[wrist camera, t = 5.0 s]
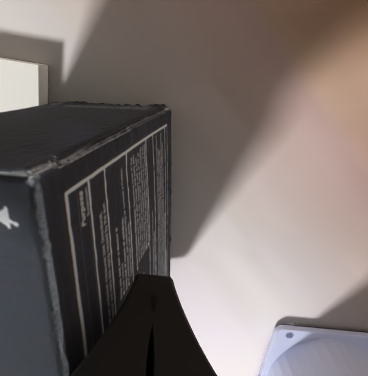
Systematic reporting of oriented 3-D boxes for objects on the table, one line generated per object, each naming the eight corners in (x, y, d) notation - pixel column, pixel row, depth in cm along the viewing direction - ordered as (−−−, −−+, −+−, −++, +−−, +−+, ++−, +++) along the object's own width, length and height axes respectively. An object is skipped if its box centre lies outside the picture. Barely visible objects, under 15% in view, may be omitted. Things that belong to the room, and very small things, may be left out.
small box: (44, 99, 16) (-272, 140, 6) (173, 103, 15) (45, 160, 5) (67, 278, 19) (-107, 485, 10) (172, 291, 18) (96, 536, 9)
